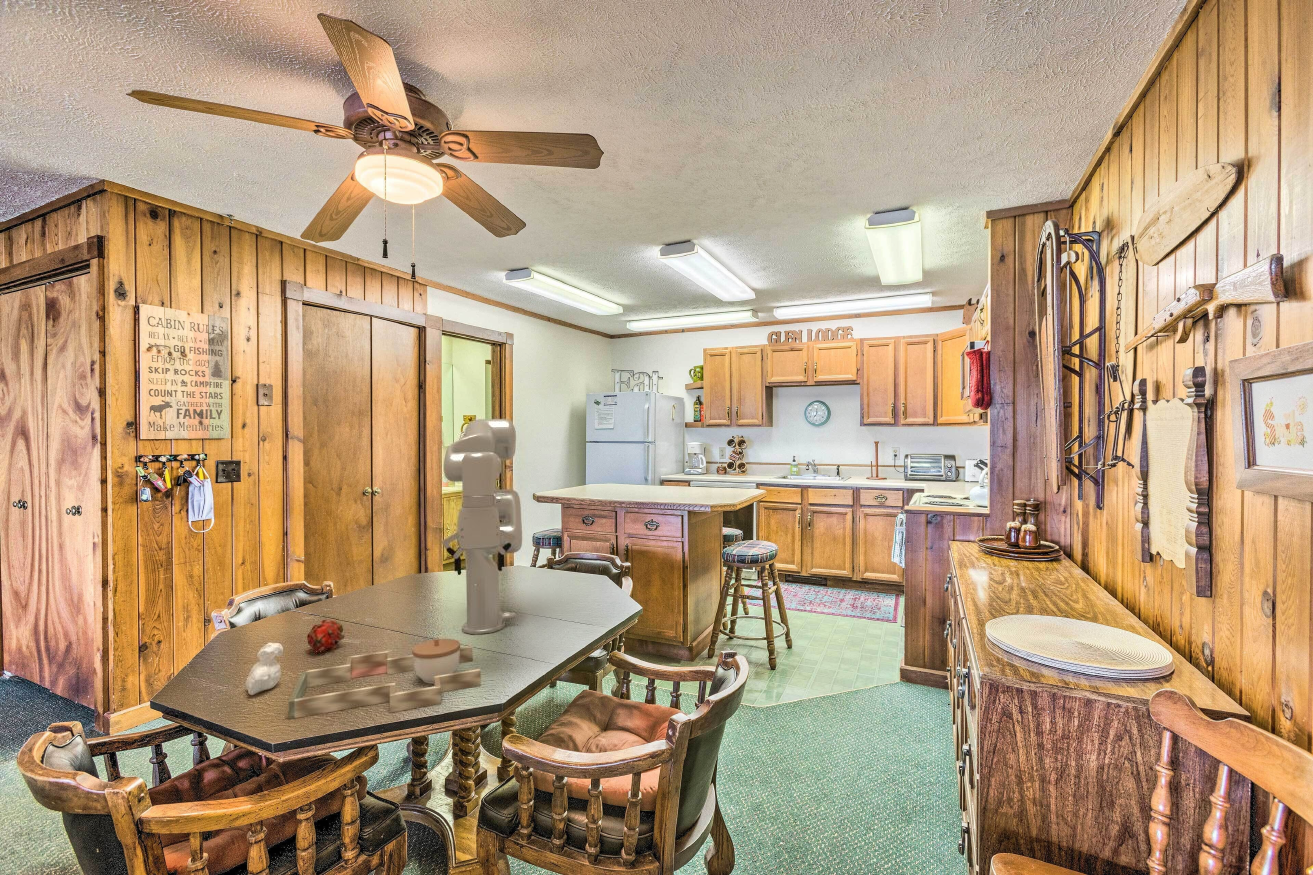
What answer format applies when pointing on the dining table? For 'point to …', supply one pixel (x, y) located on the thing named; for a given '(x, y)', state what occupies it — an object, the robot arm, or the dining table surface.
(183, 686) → the dining table surface
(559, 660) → the dining table surface
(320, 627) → the dragon fruit
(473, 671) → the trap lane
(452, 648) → the lidded jar
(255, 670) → the duck figurine
